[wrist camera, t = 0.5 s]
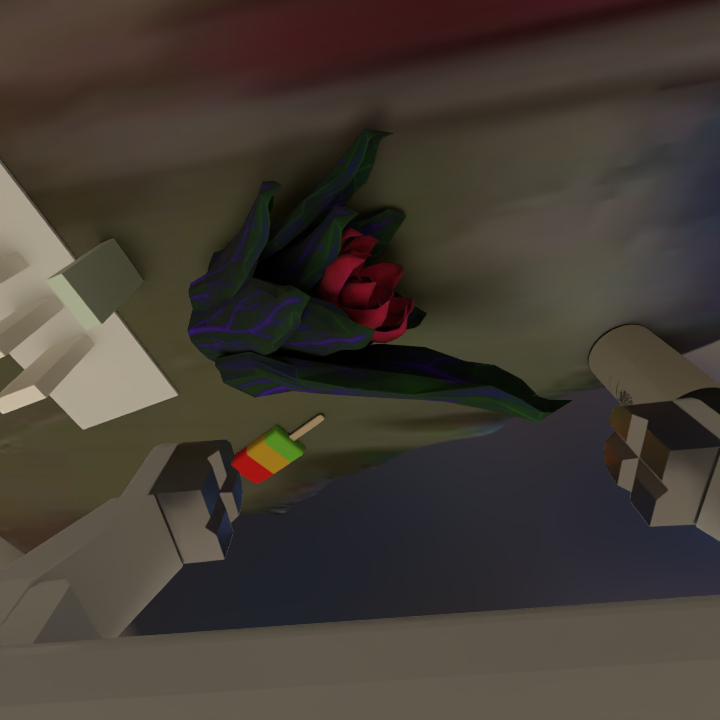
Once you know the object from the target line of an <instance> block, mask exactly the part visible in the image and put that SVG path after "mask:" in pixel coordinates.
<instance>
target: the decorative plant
mask: <svg viewBox="0 0 720 720" xmlns="http://www.w3.org/2000/svg"><path fill="white" fill-rule="evenodd" d="M390 134H393V133H388V132H382V131H375V130H369V129H364V130H363V132H362V133H361V134H360V135H359V137H358V138H357V139H356V141H355V142H354V143H353V144H352V146H351V147H350V148H349V150H348V151H347V152H346V153H345V155H344V156H343V157H342V159H341V160H340V161H339V162H338V164H337V165H336V166H335V167H334V168H333V169H332V171H331V172H330V173H329V174H328V175H327V176H326V178H325V179H324V180H323V181H322V182H321V183H320V184H319V185H318V186H317V187H316V188H315V189H314V190H313V191H312V192H311V193H310V194H309V195H308V196H307V197H306V198H305V199H304V200H302V201H301V202H300V203H299V204H298V205H297V206H296V207H295V208H294V209H293V210H292V211H291V212H290V213H288V214H287V215H286V216H285V217H283V218H282V219H281V220H279V221H278V222H276V223H274V224H273V225H271V226H270V217H269V213H270V211H271V210H272V208H273V195H274V194H275V193H276V191H277V190H278V189H279V188H280V187H281V186H282V185H281V184H279V183H277V182H275V181H265V182H262V185H261V188H260V190H259V193H258V196H257V199H256V201H255V203H254V205H253V207H252V209H251V211H250V213H249V215H248V217H247V219H246V221H245V224H244V225H243V227H242V228H241V230H240V231H239V232H238V233H237V235H236V236H235V237H234V238H233V240H232V241H231V242H230V244H229V245H228V246H227V248H226V249H224V250H221V251H218V252H215V253H214V254H213V256H212V259H211V262H210V264H209V268H208V272H207V273H206V274H205V275H204V276H202V277H200V278H199V279H197V280H196V281H194V282H192V283H191V285H190V288H189V296H190V300H191V304H192V307H193V310H192V314H191V318H190V322H189V326H188V333H189V336H190V339H191V342H192V343H193V344H194V345H195V346H196V347H197V348H198V350H199V351H200V352H201V353H203V354H204V355H205V356H206V357H207V358H208V359H210V360H212V361H214V362H215V366H216V368H217V369H218V370H219V371H220V374H221V377H222V380H223V383H225V384H227V385H229V386H231V387H234V388H236V389H238V390H240V391H242V392H244V393H247V394H249V395H251V396H253V397H260V396H266V395H272V394H278V393H283V392H289V391H299V392H310V393H320V394H334V395H349V396H365V397H381V398H398V399H416V400H429V401H442V402H450V403H455V404H460V405H465V406H470V407H476V408H481V409H486V410H491V411H496V412H501V413H506V414H509V415H513V416H517V417H520V418H524V419H528V420H532V421H535V422H539V421H541V420H542V419H544V418H545V417H547V416H549V415H550V414H552V413H553V412H555V411H556V410H558V409H560V408H561V407H563V406H564V405H566V404H567V403H569V402H571V401H572V400H548V399H545V398H542V397H539V396H538V395H537V394H536V393H535V392H534V391H533V390H532V389H531V388H530V387H529V386H528V385H527V384H526V383H525V382H524V381H523V380H522V379H520V378H518V377H516V376H514V375H512V374H511V373H509V372H507V371H505V370H503V369H501V368H499V367H497V366H495V365H490V364H482V363H475V362H467V361H463V360H460V359H457V358H454V357H452V356H449V355H446V354H443V353H440V352H437V351H434V350H432V349H429V348H426V347H416V346H402V345H389V344H373V345H370V344H372V343H374V342H378V343H387V342H389V341H392V340H394V339H396V338H398V337H400V336H401V335H402V334H404V333H405V332H406V329H411V328H415V327H417V326H418V325H420V323H421V322H422V320H423V319H424V317H425V316H426V314H427V313H425V312H423V311H422V310H420V309H418V308H417V307H415V306H413V301H414V296H413V297H410V298H402V296H401V295H399V294H398V293H396V292H394V291H393V289H394V287H395V286H396V285H397V284H398V282H399V280H400V279H401V277H402V275H403V266H401V265H398V264H395V263H387V262H382V263H378V264H375V265H372V266H369V267H367V266H368V265H369V264H370V263H371V262H372V261H373V260H374V259H375V258H376V257H377V256H378V255H379V253H380V252H381V251H382V250H383V249H384V248H385V247H386V245H387V244H388V243H389V242H390V240H391V239H392V237H393V236H394V234H395V232H396V231H397V229H398V228H399V227H400V225H401V224H402V222H403V220H404V219H405V217H406V216H405V215H403V214H401V213H399V212H397V211H395V210H389V209H388V210H385V211H382V212H379V213H377V214H374V215H371V216H368V217H366V218H362V219H357V220H352V219H353V218H354V217H356V216H357V215H358V214H359V212H357V211H355V210H353V209H352V208H350V207H348V206H345V205H346V203H347V202H348V200H349V199H350V198H351V196H352V195H353V193H354V192H355V191H357V190H358V189H359V188H360V187H362V186H363V185H364V184H365V183H366V181H367V179H368V176H369V174H370V172H371V169H372V167H373V164H374V161H375V157H376V153H377V148H378V144H379V142H380V141H381V139H382V138H383V137H385V136H387V135H390ZM351 220H352V221H351Z"/></svg>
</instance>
